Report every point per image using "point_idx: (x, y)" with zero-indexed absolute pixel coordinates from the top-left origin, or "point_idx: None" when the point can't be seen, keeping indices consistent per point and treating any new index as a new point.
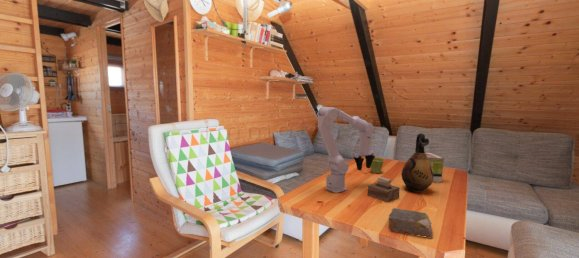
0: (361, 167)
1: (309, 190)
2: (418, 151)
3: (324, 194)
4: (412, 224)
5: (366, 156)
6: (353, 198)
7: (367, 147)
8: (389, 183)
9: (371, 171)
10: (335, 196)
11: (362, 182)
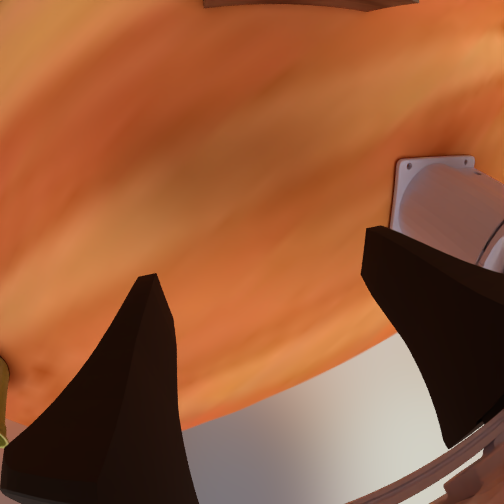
0: (406, 241)
1: None
2: None
3: (495, 176)
4: None
5: (186, 501)
6: (460, 48)
7: None
8: None
9: (8, 372)
10: (490, 128)
11: (167, 248)
